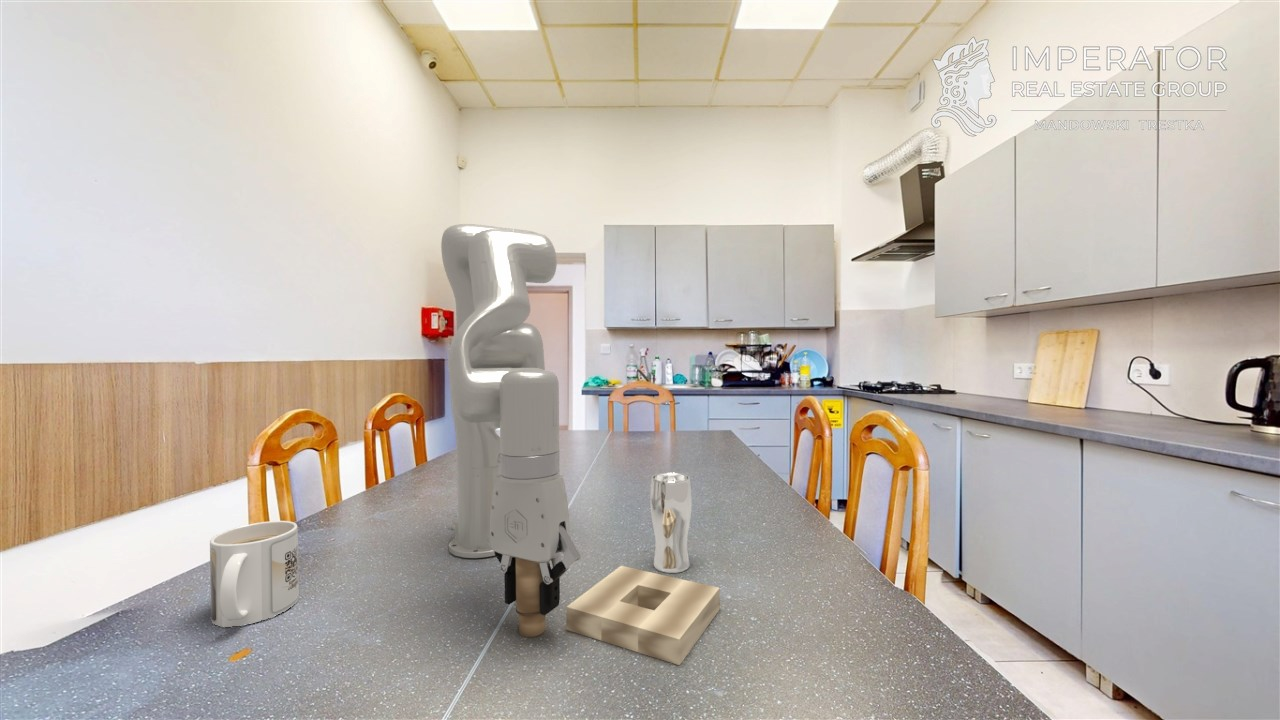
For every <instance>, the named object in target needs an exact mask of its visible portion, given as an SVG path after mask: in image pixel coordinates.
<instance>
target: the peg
mask: <svg viewBox="0 0 1280 720" xmlns="http://www.w3.org/2000/svg"><path fill="white" fill-rule="evenodd" d="M542 582H543V577H542V573H541V568H540V564H539V563H536V562H532V561H527V560H523V559H519V558H516V601H515V612H516V613H517V614H518V633H519V634H520V636H522V637H525V638H533V637H538V636H540V635H541V634H542V635H543V633H544V632H546V629H547V628H546V625H547V624H546V615H541V614H540V599H539V585H540V583H542Z"/></svg>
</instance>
